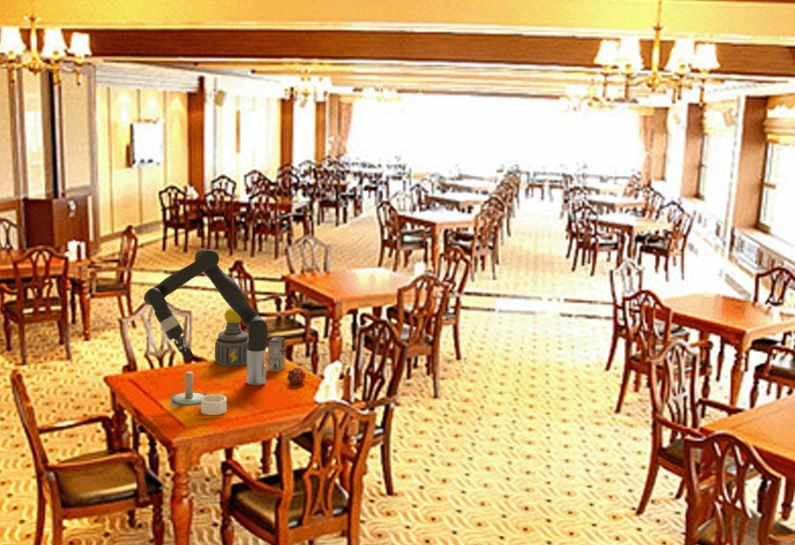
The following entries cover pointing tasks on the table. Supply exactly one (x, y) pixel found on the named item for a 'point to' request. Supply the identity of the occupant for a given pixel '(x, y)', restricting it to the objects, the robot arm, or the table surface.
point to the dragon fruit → (296, 376)
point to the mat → (181, 404)
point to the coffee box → (276, 353)
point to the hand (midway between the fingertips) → (190, 357)
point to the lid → (188, 392)
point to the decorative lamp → (231, 342)
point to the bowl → (213, 404)
